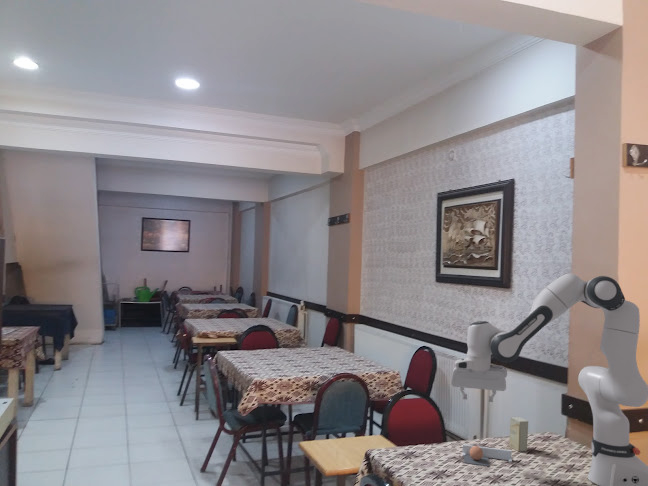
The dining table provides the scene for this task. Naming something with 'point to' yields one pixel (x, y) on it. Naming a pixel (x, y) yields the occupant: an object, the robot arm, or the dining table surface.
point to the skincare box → (518, 434)
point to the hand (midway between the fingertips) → (477, 400)
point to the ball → (476, 453)
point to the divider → (490, 452)
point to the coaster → (476, 461)
